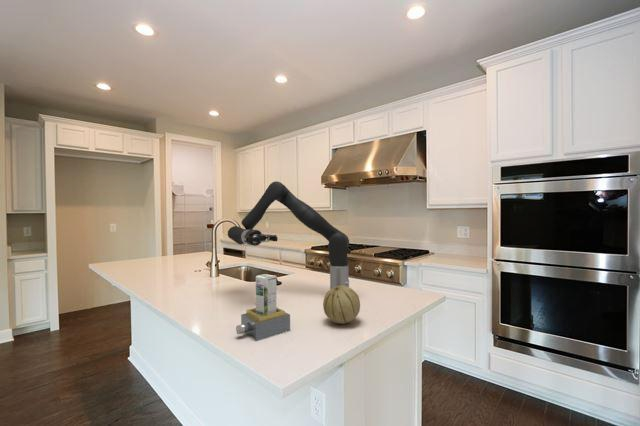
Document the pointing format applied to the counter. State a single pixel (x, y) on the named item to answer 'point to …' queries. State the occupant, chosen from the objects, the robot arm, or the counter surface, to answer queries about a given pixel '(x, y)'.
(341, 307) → the cantaloupe
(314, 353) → the counter surface
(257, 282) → the syrup box
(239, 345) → the counter surface
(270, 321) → the tray
